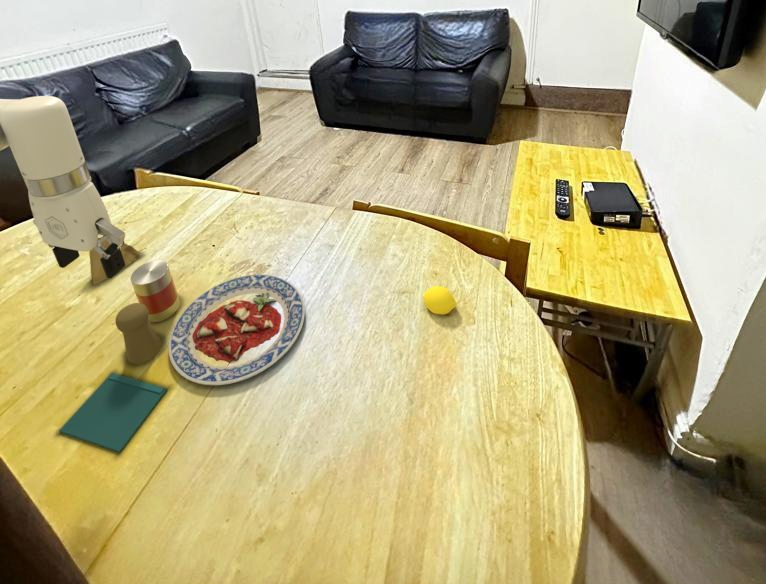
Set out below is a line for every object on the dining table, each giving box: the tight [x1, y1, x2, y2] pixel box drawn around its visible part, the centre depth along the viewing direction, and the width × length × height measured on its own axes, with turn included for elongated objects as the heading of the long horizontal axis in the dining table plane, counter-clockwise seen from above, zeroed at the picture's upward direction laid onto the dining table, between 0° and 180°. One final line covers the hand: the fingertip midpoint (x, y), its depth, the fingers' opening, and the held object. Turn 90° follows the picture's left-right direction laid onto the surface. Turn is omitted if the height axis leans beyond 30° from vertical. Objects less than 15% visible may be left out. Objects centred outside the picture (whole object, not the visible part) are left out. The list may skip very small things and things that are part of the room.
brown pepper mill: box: [114, 302, 163, 365], centre depth 77 cm, size 6×6×11 cm
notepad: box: [58, 372, 168, 454], centre depth 68 cm, size 12×10×1 cm
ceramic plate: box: [167, 274, 306, 386], centre depth 82 cm, size 26×26×3 cm
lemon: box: [422, 285, 458, 316], centre depth 85 cm, size 7×5×5 cm
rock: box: [88, 237, 142, 285], centre depth 99 cm, size 11×9×10 cm
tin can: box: [130, 259, 181, 323], centre depth 86 cm, size 7×7×11 cm
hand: (93, 267), depth 69 cm, fingers open, 9 cm apart
